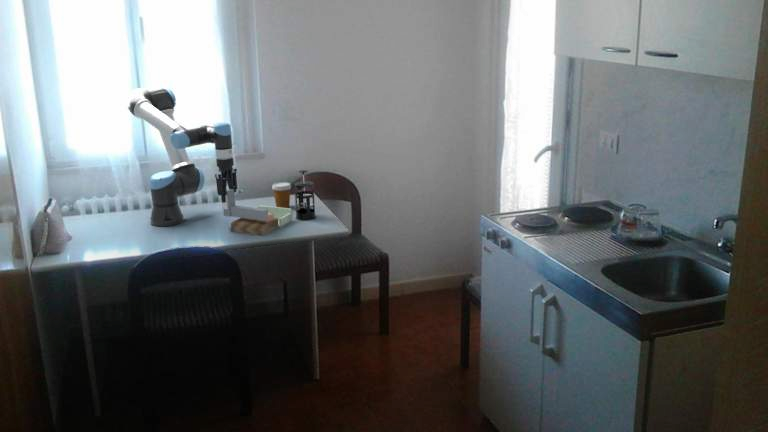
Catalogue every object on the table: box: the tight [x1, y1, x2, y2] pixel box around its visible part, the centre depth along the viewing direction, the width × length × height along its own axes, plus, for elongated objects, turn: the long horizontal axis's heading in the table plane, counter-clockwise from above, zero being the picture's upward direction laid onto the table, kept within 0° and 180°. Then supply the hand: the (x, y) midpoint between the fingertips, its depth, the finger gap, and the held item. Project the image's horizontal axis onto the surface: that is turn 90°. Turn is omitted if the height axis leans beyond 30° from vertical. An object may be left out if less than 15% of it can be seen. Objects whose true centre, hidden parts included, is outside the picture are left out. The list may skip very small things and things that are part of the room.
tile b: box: [258, 213, 274, 223], centre depth 324 cm, size 5×5×3 cm
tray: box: [257, 204, 293, 228], centre depth 335 cm, size 18×10×6 cm, turn 67°
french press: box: [293, 169, 317, 222], centre depth 338 cm, size 12×9×23 cm
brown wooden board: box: [230, 217, 280, 236], centre depth 325 cm, size 17×13×4 cm
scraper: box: [222, 188, 269, 221], centre depth 324 cm, size 24×4×12 cm, turn 58°
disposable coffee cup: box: [271, 181, 292, 208], centre depth 357 cm, size 10×10×12 cm
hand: (228, 207), depth 330 cm, fingers closed on scraper, 4 cm apart
